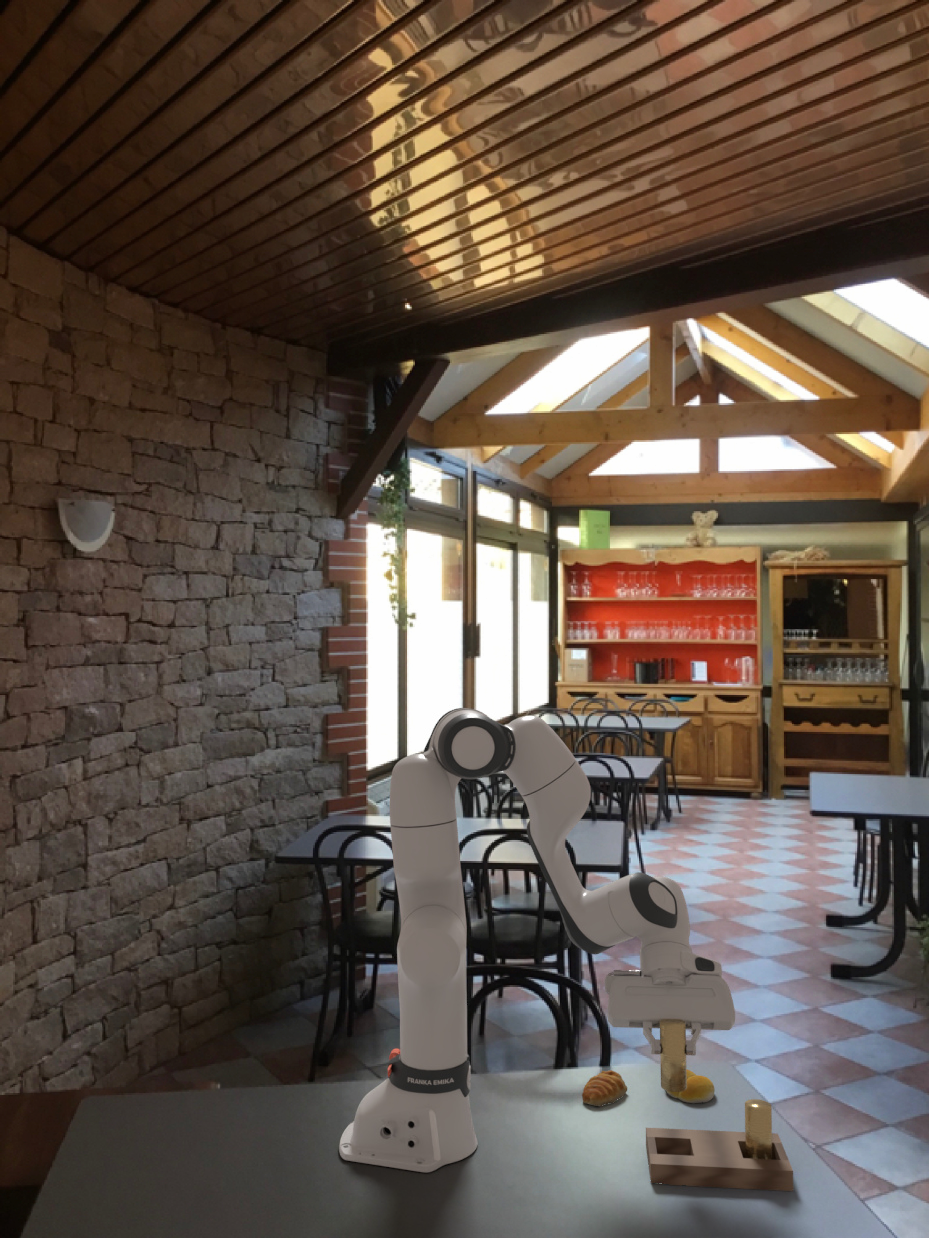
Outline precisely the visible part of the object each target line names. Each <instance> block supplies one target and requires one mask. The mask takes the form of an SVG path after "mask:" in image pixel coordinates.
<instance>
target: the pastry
mask: <svg viewBox="0 0 929 1238" xmlns="http://www.w3.org/2000/svg"><path fill="white" fill-rule="evenodd" d="M582 1090H583V1091H582V1093H581V1096H582V1102H583V1104H588V1105H592V1106H597V1107H603V1106H605V1105H604V1104H606V1105H609V1104H608V1103H611V1104H614V1103H615V1102H617V1101H618V1100H620V1099H622V1098H623V1097H624V1096H625V1095H626V1094H627V1092H628V1086H627V1085H626V1082H625V1080H624V1079H623V1078H622V1075H621V1074H620V1073H619V1072H616V1071H614V1070H602V1071H601V1072H599V1073H598V1074H597V1075H594V1076H592V1077H591V1078H590V1079H588V1081H587V1082H586V1084H584V1088H583V1089H582ZM622 1096H623V1097H622ZM621 1097H622V1098H621ZM619 1098H620V1099H619ZM617 1099H618V1100H617ZM616 1100H617V1101H616ZM613 1102H614V1103H613ZM602 1105H603V1106H602Z"/></svg>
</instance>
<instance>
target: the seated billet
mask: <svg viewBox="0 0 929 1238" xmlns="http://www.w3.org/2000/svg"><path fill="white" fill-rule="evenodd" d="M772 1112H773V1111H772V1104H771V1103H769V1102H768V1101H766V1100H763V1099H758V1098H757V1099H756V1098H753V1099H752V1098H751V1099H748V1100H746V1101H745V1102H744V1132H745V1152H746V1158H750V1159H771V1160H772V1133H773V1127H772V1126H773V1124H772V1123H773V1120H772V1119H773V1118H772V1114H773V1113H772Z"/></svg>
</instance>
